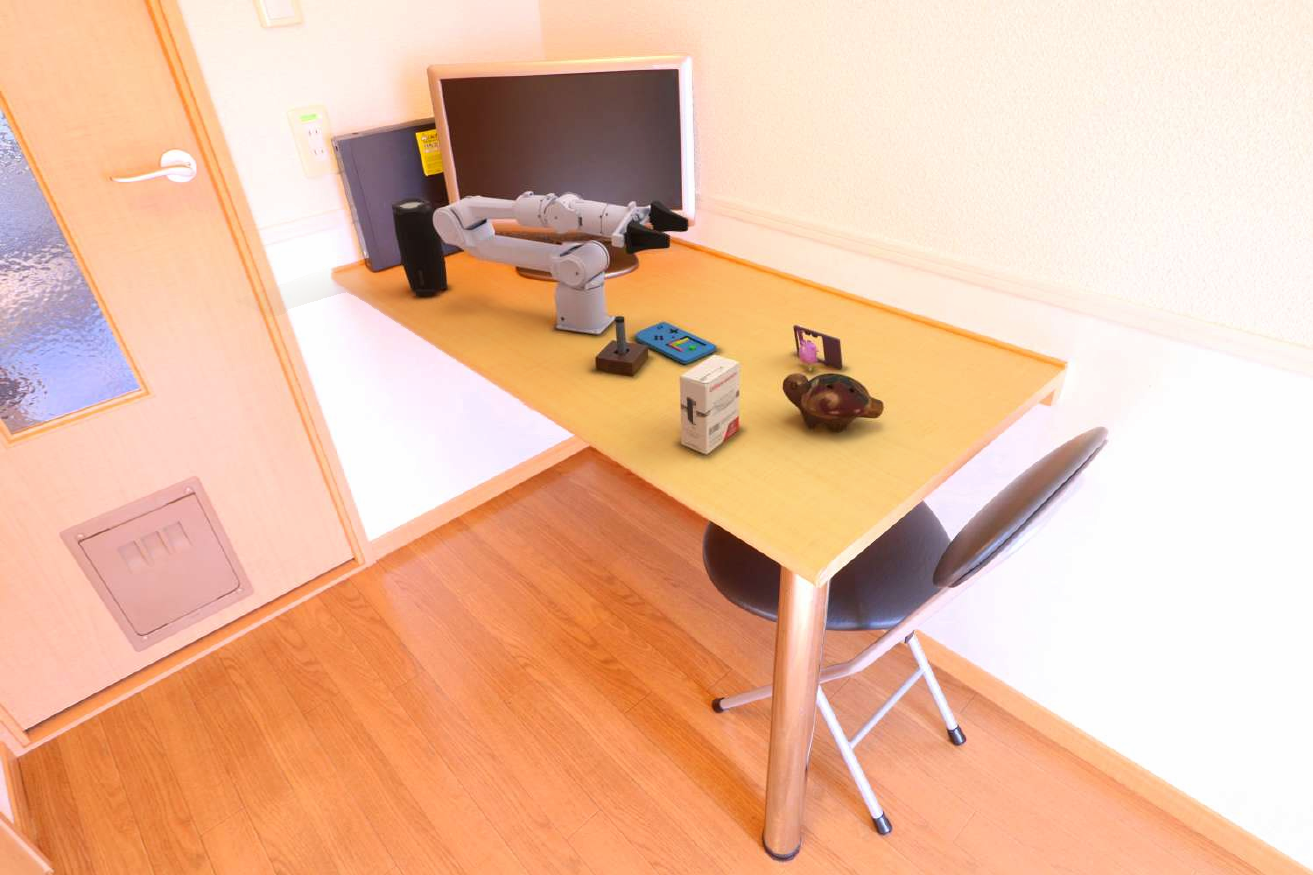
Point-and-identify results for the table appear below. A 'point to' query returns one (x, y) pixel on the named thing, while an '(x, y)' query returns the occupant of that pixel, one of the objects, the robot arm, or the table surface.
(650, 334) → the handheld gaming device
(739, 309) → the table surface
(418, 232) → the portable speaker
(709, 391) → the ink box
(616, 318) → the dark grey cylinder rod
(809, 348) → the purple frame with figurine
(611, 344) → the brown block with hole
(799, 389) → the decorative turtle
